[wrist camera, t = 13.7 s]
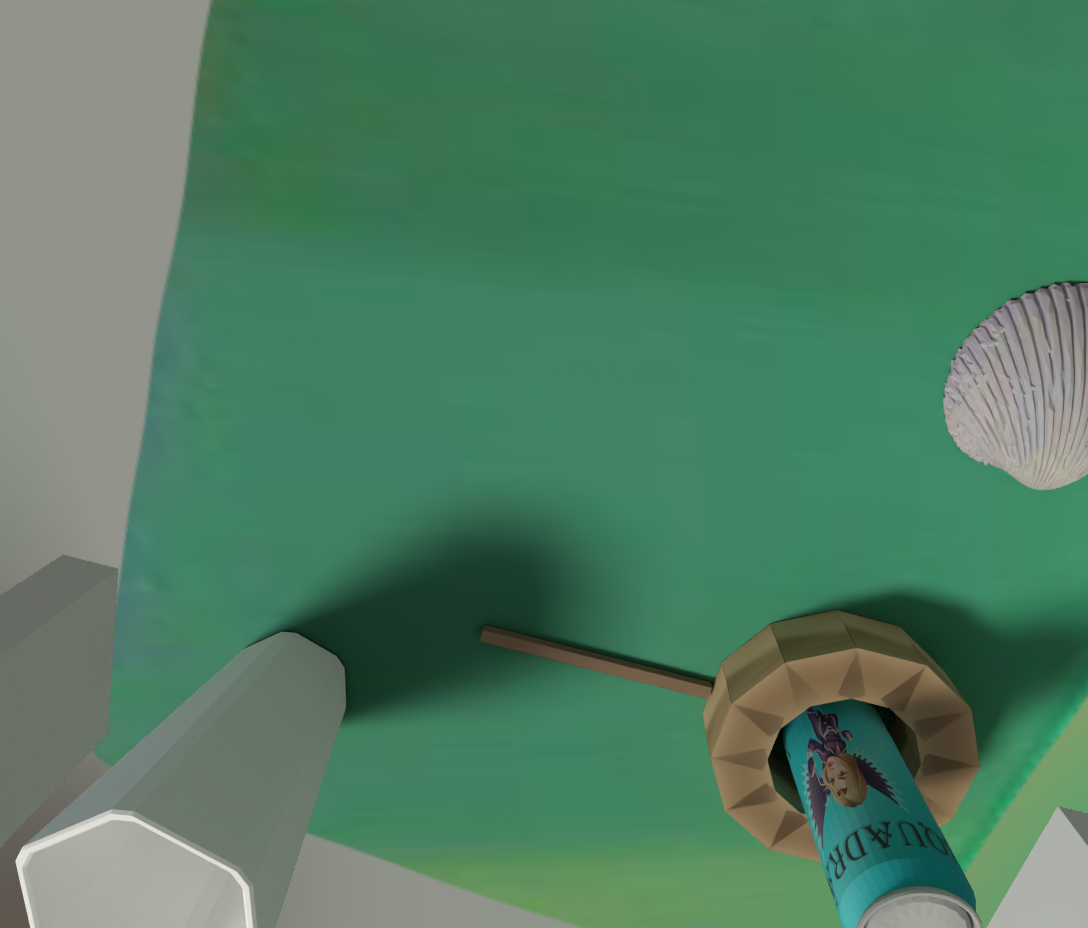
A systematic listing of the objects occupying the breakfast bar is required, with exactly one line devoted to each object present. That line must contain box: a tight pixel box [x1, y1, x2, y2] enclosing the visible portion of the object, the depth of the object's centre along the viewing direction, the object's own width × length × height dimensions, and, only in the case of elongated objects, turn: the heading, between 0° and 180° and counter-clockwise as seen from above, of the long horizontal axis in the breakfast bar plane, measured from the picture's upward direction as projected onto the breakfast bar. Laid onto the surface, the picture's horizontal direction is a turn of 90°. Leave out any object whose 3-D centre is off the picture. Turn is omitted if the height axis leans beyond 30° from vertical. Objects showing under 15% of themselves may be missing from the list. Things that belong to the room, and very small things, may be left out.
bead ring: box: [703, 610, 980, 862], centre depth 45 cm, size 14×14×4 cm
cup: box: [16, 632, 346, 928], centre depth 41 cm, size 11×10×17 cm
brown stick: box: [480, 625, 712, 699], centre depth 46 cm, size 1×14×1 cm, turn 77°
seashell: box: [943, 282, 1088, 490], centre depth 38 cm, size 10×6×10 cm
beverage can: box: [782, 699, 983, 928], centre depth 40 cm, size 6×6×15 cm
